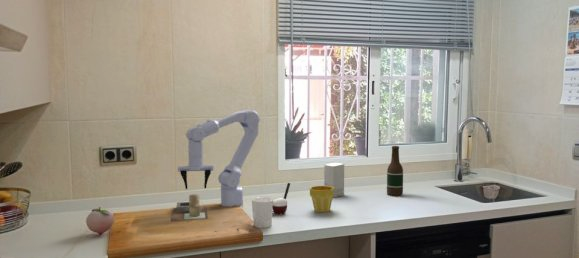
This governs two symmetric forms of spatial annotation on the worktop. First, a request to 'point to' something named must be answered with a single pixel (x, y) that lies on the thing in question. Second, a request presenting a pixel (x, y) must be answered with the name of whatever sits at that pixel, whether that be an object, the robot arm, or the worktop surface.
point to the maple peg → (194, 205)
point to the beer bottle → (395, 175)
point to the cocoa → (281, 203)
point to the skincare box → (334, 177)
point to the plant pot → (322, 197)
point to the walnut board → (180, 216)
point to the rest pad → (187, 216)
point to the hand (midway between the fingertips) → (195, 188)
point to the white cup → (262, 211)
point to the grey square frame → (182, 207)
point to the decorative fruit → (100, 221)
